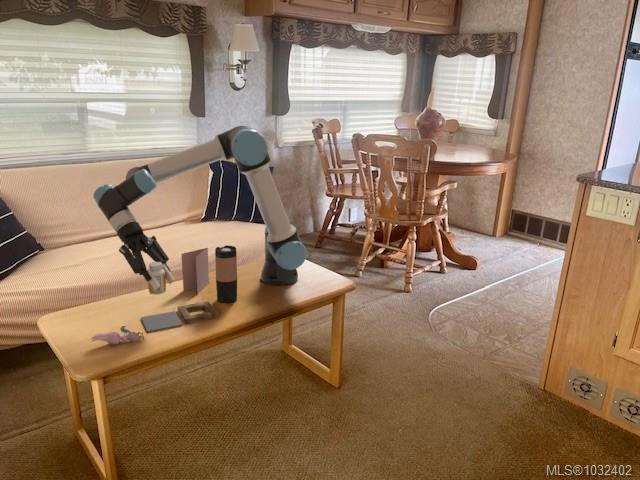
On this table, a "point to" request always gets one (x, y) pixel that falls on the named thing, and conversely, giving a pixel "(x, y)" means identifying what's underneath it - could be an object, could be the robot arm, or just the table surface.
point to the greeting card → (195, 269)
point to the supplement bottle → (159, 275)
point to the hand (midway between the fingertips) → (165, 284)
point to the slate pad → (161, 321)
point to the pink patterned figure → (118, 336)
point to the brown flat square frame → (198, 317)
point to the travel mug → (226, 274)
